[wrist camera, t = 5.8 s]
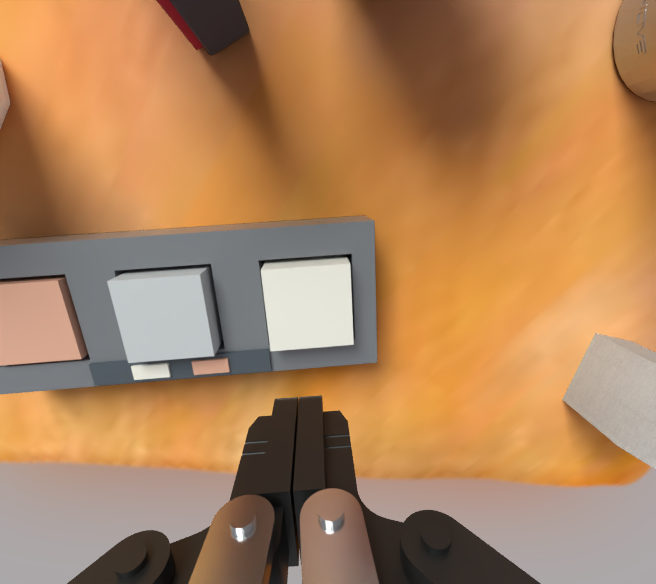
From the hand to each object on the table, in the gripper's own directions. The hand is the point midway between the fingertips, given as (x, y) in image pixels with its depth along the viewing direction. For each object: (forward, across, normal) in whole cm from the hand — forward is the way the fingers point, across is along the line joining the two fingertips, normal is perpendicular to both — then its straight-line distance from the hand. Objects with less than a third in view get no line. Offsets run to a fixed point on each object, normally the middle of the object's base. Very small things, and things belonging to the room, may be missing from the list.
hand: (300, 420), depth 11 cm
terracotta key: (+15, +18, 0) cm, 23 cm away
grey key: (+14, +9, 0) cm, 16 cm away
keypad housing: (+16, +9, 0) cm, 19 cm away
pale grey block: (+17, -25, +10) cm, 32 cm away
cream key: (+14, 0, 0) cm, 14 cm away
